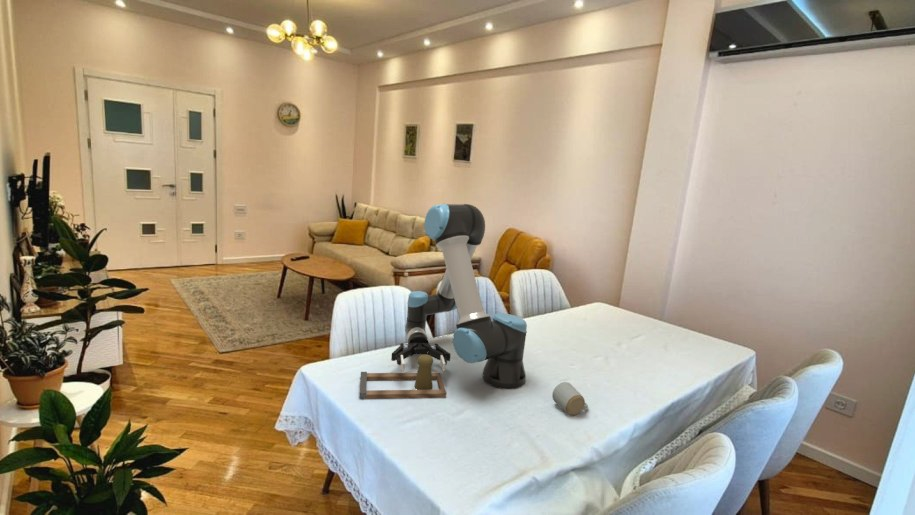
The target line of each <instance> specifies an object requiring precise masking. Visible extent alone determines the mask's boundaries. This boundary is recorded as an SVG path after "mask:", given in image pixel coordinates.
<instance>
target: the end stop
mask: <svg viewBox="0 0 915 515" xmlns="http://www.w3.org/2000/svg"><path fill="white" fill-rule="evenodd" d="M367 373H368V372H367V371H360V380H359V381H360V382H359V396H358V397H359V400H367V399H366V390H367V382H368V381H367Z"/></svg>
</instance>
